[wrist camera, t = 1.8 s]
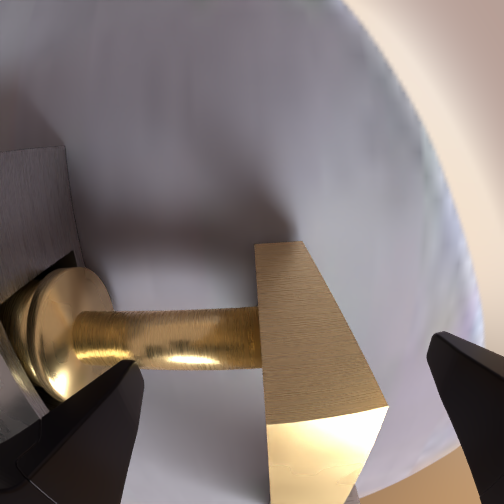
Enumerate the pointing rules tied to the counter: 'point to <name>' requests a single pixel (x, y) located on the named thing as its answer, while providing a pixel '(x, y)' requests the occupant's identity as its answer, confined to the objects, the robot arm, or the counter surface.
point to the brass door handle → (224, 360)
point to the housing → (31, 261)
